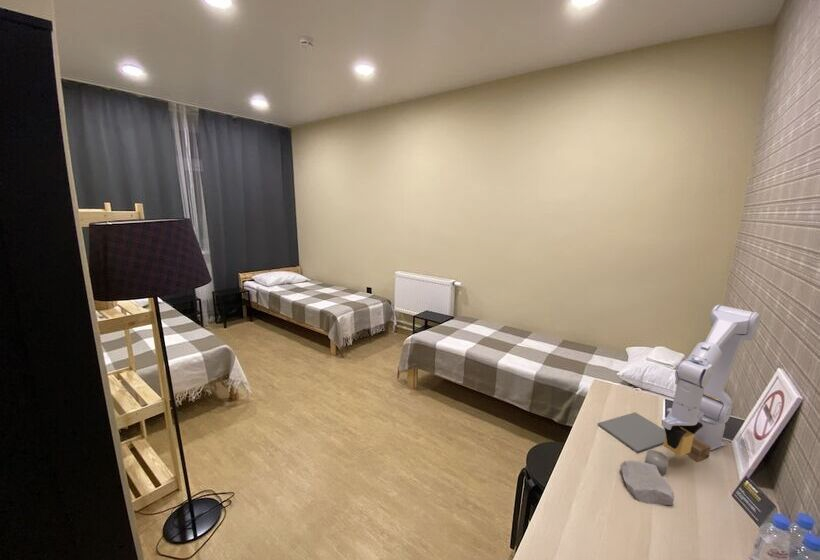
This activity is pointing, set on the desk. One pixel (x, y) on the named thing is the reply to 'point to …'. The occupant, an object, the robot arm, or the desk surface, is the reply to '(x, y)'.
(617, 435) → the slate mat
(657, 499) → the stone block
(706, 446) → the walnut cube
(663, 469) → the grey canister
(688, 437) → the ochre block
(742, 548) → the desk surface
